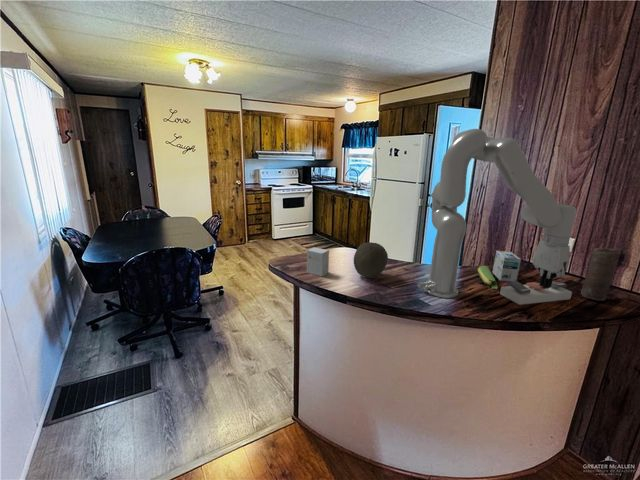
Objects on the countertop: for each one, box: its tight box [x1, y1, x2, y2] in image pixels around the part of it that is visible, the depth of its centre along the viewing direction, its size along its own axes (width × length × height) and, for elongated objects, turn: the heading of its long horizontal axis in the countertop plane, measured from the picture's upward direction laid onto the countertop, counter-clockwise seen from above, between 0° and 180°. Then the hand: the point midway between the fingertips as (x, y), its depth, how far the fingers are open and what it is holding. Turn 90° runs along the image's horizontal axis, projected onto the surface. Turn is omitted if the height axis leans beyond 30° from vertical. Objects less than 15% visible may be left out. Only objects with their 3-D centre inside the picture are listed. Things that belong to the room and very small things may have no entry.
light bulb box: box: [492, 250, 522, 283], centre depth 136 cm, size 11×7×11 cm, turn 168°
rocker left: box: [508, 281, 531, 294], centre depth 115 cm, size 4×6×1 cm, turn 14°
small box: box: [306, 247, 330, 277], centre depth 134 cm, size 8×6×10 cm
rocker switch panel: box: [499, 282, 573, 306], centre depth 118 cm, size 24×9×4 cm, turn 104°
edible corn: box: [476, 265, 498, 290], centre depth 132 cm, size 5×20×5 cm
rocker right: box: [551, 280, 568, 288], centre depth 120 cm, size 4×6×1 cm, turn 14°
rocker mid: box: [525, 281, 549, 290], centre depth 117 cm, size 4×6×1 cm, turn 14°
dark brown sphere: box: [353, 241, 389, 280], centre depth 131 cm, size 14×14×15 cm
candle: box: [580, 247, 621, 301], centre depth 116 cm, size 8×7×20 cm
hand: (544, 286), depth 115 cm, fingers closed
